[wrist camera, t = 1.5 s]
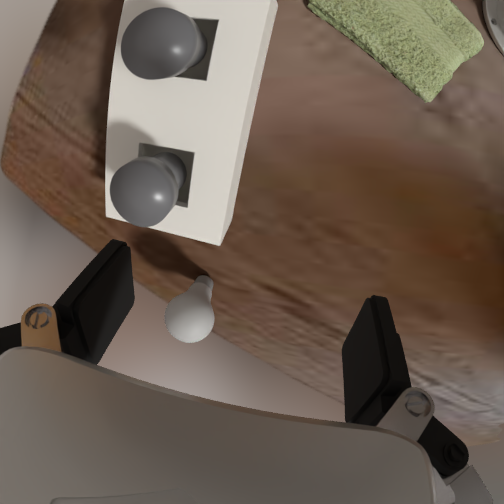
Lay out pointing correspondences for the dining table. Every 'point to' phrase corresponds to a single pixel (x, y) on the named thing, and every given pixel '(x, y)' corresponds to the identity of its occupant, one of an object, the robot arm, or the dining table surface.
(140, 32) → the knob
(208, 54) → the box
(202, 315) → the lightbulb
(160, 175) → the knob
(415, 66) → the washcloth
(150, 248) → the dining table surface
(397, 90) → the dining table surface
